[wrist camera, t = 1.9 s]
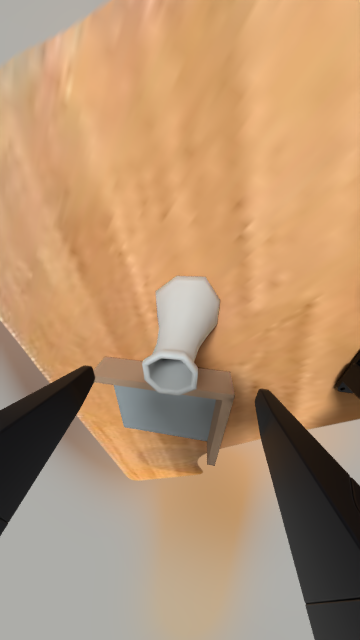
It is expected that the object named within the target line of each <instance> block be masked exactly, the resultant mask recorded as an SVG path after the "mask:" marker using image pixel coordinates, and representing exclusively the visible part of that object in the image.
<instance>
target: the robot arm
mask: <svg viewBox="0 0 360 640" xmlns="http://www.w3.org/2000/svg"><path fill="white" fill-rule="evenodd" d="M94 381H95V374H94V371H93V368H92V367H91V366H82V367H80V368H78V369H76V370H75V371H73V372H71V373H69V374H67V375H65V376H63V377H62V378H60V379H58V380H56V381H54V382H52V383H50V384H49V385H47V386H45V387H43V388H41V389H39V390H37V391H36V392H34V393H32V394H30V395H28V396H26V397H25V398H23V399H21V400H19V401H17V402H15V403H13V404H11V405H10V406H8V407H6V408H4V409H2V410H0V536H1V534H2V532H3V531H4V529H5V528H6V526H7V524H8V522H9V521H10V519H11V518H12V516H13V515H14V513H15V511H16V510H17V508H18V507H19V505H20V504H21V502H22V500H23V499H24V497H25V496H26V494H27V492H28V490H29V489H30V488H31V486H32V484H33V483H34V481H35V480H36V478H37V476H38V475H39V473H40V471H41V470H42V469H43V467H44V465H45V464H46V462H47V461H48V459H49V457H50V456H51V454H52V453H53V451H54V449H55V448H56V446H57V445H58V443H59V442H60V440H61V438H62V437H63V435H64V434H65V432H66V430H67V429H68V427H69V426H70V424H71V422H72V421H73V419H74V418H75V416H76V415H77V413H78V411H79V410H80V408H81V406H82V404H83V402H84V400H85V399H86V397H87V395H88V393H89V391H90V389H91V387H92V385H93V383H94ZM335 388H336V389H337V390H338V391H340V392H347V393H354V394H355V395H356V396H357V397H358V398H359V399H360V352H359V353H358V355H357V356H356V358H355V359H354V360H353V362H352V363H351V365H350V366H349V367H348V369H347V370H346V372H345V373H344V374H343V376H342V377H341V379H340V380H339V381H338V383H337V384H336V386H335ZM255 406H256V413H257V419H258V425H259V431H260V436H261V441H262V445H263V448H264V452H265V456H266V460H267V463H268V466H269V470H270V474H271V478H272V482H273V485H274V489H275V493H276V497H277V500H278V504H279V508H280V511H281V515H282V519H283V523H284V527H285V530H286V534H287V538H288V541H289V545H290V549H291V553H292V556H293V560H294V564H295V567H296V571H297V575H298V579H299V582H300V586H301V589H302V593H303V597H304V601H305V603H306V609H307V613H308V616H309V620H310V624H311V628H312V631H313V635H314V639H315V640H360V486H359V485H358V484H357V483H356V481H355V480H354V479H353V478H351V477H350V476H349V474H348V473H347V472H346V471H345V470H344V469H343V468H342V467H341V466H340V465H339V464H338V462H336V460H335V459H333V457H332V456H331V455H330V454H329V453H328V452H327V451H326V450H325V449H324V448H323V447H322V446H321V445H320V443H319V442H318V441H317V440H316V439H315V438H314V437H313V436H312V435H311V434H310V433H309V432H308V431H307V430H306V429H305V428H304V427H303V425H302V424H301V423H300V422H299V421H298V420H297V419H296V418H295V417H294V416H293V415H292V414H291V413H290V412H289V411H288V410H287V409H286V407H285V406H284V405H283V404H282V403H281V402H280V401H279V400H278V399H277V398H276V397H275V396H274V395H273V394H272V393H271V392H270V391H269V390H267V389H259V391H258V393H257V396H256V398H255Z"/></svg>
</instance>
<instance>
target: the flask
mask: <svg viewBox="0 0 360 640" xmlns="http://www.w3.org/2000/svg"><path fill="white" fill-rule="evenodd" d="M156 304H157V317H158V324H159V333H158V340H157V345H156V347H155V349H154V352H153V354H152V355H151V356H149V357H147V358H145V359H144V360H143V363H142V366H143V373H144V380H145V381H146V382H147V383H148V384H149V385H150V386H151V387H152V388H153V389H155V390H156V391H157V392H158V393H162V394H169V395H177V396H179V395H182V394H185V393H187V392H190V391H193V390H195V389H197V378H198V367H197V366H196V365H195V363H194V361H195V358H196V355H197V352H198V350H199V347H200V346H201V344H202V343H203V342H204V340H205V339H206V337H207V336H208V335H209V333H210V332H211V331H212V330H213V329H214V327H215V326H216V325H217V321H218V314H219V306H220V298H219V297H218V295H217V294H216V292H215V291H214V289H213V288H212V286H211V285H210V283H209V282H208V280H207V279H206V277H198V276H176V277H174V278H173V279H172V280H170V281H169V282H168V283H166V284H165V285H164V286H162V287H161V288H160V289H158V290H157V291H156Z"/></svg>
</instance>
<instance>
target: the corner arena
mask: <svg viewBox="0 0 360 640" xmlns="http://www.w3.org/2000/svg"><path fill="white" fill-rule="evenodd" d="M142 363H143V361H136V360H128V359H120V358H112V357H104V358H103V360H102V361H101V362H100V363H99V364H98V366H97V367H96V368H95V369H94V370H93V371H94V374H95V381H94V382H96V383H103V384H110V385H114V388H115V392H116V396H117V400H118V404H119V408H120V412H121V416H122V420H123V424H124V427H127V428H133V429H138V430H144V431H150V432H156V433H162V434H167V435H173V436H179V437H185V438H191V439H197V440H202V441H207V464H209V465H213V466H215V462H216V459H217V455H218V452H219V449H220V445H221V442H222V438H223V435H224V431H225V428H226V424H227V421H228V417H229V414H230V411H231V407H232V404H233V400H234V397H235V393H234V388H233V382H232V377H231V372H227V371H219V370H210V369H202V368H198V378H197V389H195V390H193V391H190V392H187V393H185V394H182V395H179V396H177V395H169V394H162V393H158V392H157V391H156V390H155V389H153V388H152V387H151V386H150V385H149V384H148V383H147V382H146V381H145V380H144V373H143V366H142Z"/></svg>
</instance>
